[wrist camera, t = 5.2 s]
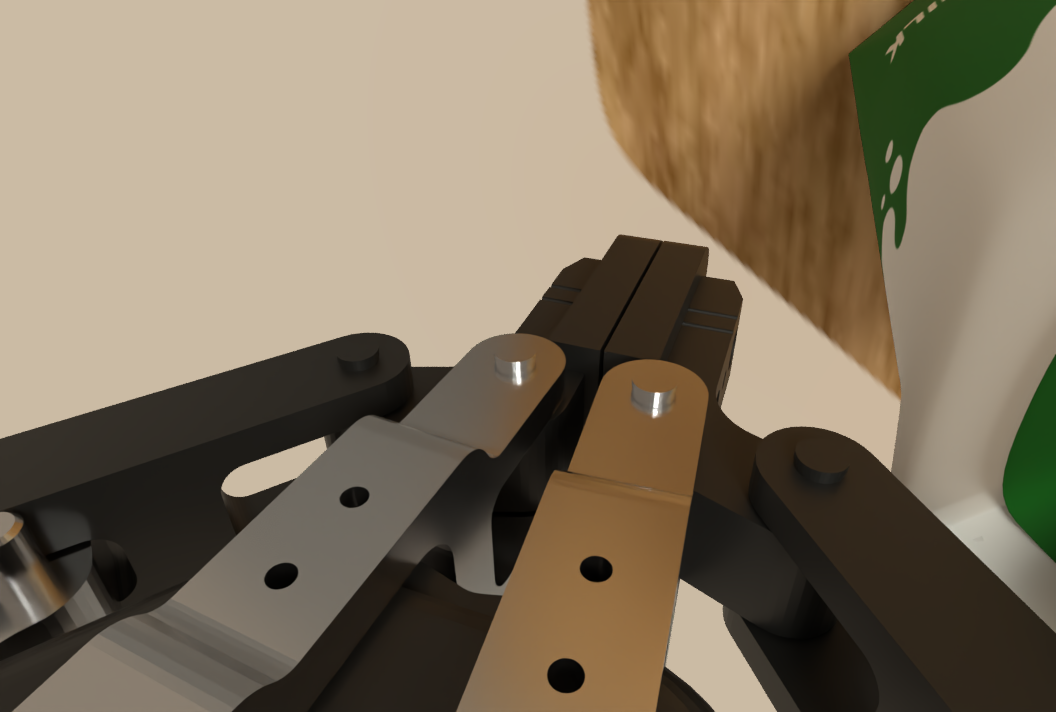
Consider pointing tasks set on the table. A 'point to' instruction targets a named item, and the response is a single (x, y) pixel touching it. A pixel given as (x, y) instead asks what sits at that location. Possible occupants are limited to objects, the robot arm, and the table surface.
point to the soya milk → (971, 268)
